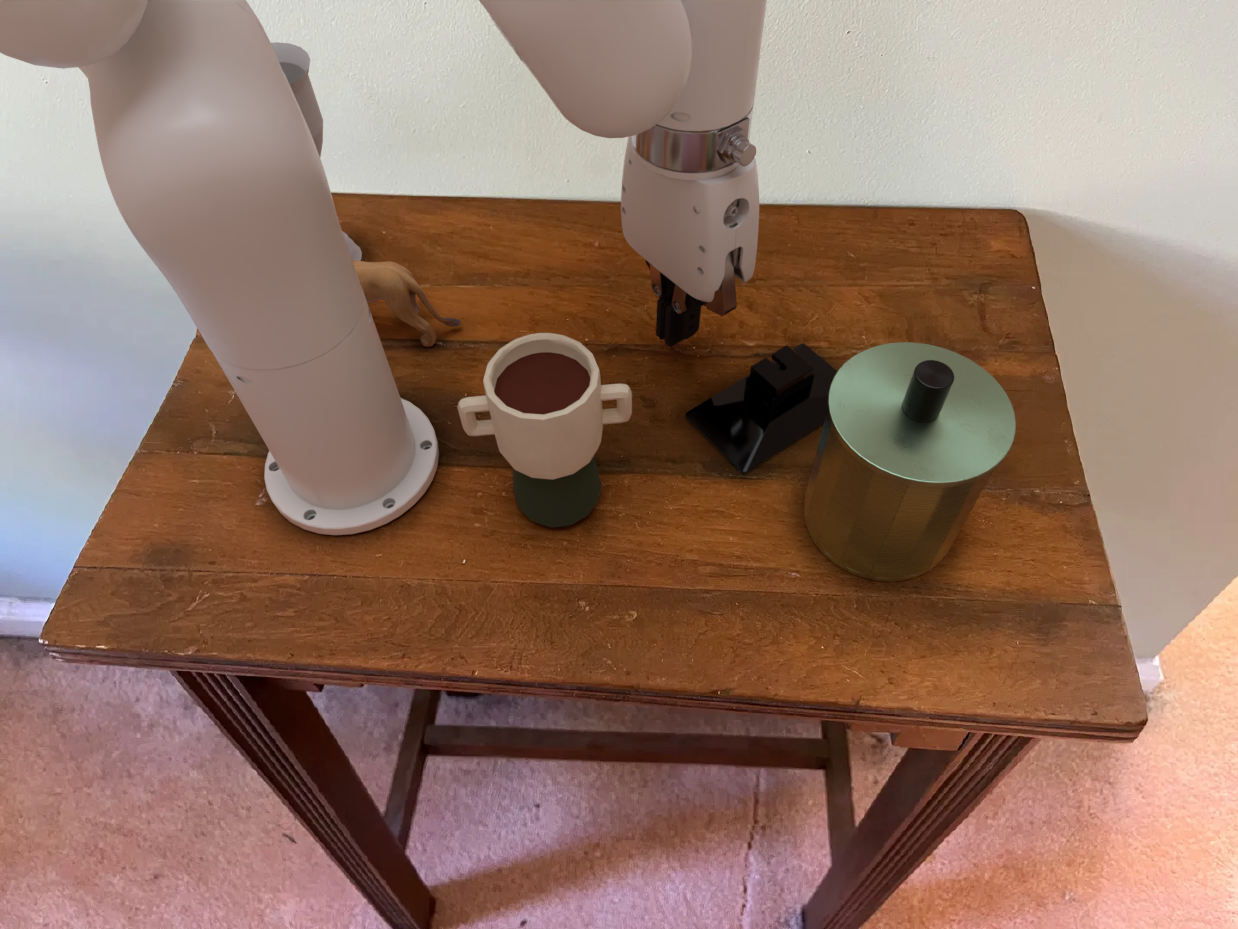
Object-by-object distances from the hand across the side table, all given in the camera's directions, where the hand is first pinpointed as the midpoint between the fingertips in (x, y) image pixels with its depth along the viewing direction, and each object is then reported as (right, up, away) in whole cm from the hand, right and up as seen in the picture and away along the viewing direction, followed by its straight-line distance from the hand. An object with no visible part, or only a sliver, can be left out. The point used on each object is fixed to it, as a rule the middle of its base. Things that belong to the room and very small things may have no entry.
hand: (677, 333), depth 69 cm
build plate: (+7, -6, -2) cm, 10 cm away
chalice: (-31, +8, +9) cm, 33 cm away
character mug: (-9, -13, -6) cm, 17 cm away
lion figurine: (-26, +1, +4) cm, 26 cm away
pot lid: (+13, -7, -18) cm, 23 cm away
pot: (+13, -14, -8) cm, 21 cm away
